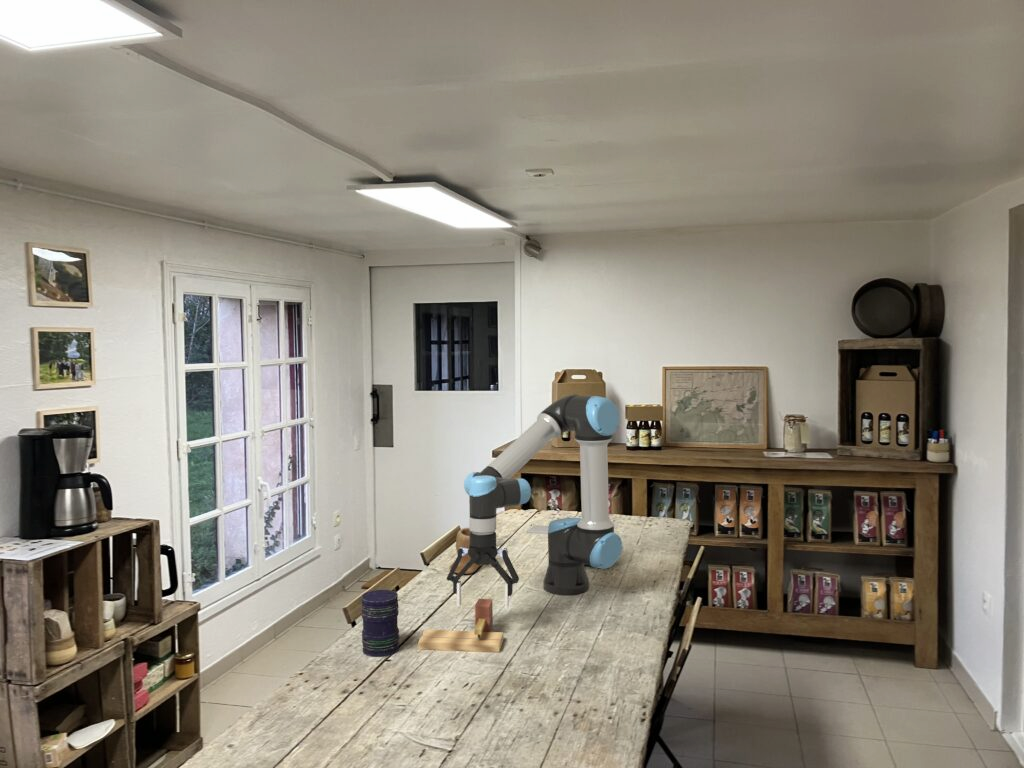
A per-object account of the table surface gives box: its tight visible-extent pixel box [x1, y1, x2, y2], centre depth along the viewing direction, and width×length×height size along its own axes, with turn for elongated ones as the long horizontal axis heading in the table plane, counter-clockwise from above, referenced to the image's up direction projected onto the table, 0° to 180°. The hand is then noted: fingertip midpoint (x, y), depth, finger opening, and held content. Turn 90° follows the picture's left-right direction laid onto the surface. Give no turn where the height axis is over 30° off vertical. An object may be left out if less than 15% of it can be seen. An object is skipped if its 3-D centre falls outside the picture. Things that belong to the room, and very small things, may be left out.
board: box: [417, 629, 504, 653], centre depth 218 cm, size 22×9×2 cm, turn 83°
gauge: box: [473, 598, 494, 638], centre depth 221 cm, size 4×14×9 cm, turn 173°
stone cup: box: [448, 527, 480, 575], centre depth 285 cm, size 15×12×15 cm
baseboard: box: [526, 523, 549, 535], centre depth 336 cm, size 31×3×12 cm
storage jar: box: [360, 589, 400, 658], centre depth 214 cm, size 10×10×15 cm
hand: (482, 606), depth 224 cm, fingers open, 13 cm apart
